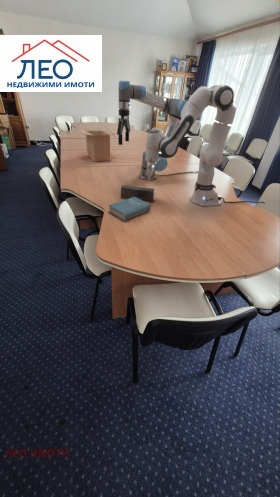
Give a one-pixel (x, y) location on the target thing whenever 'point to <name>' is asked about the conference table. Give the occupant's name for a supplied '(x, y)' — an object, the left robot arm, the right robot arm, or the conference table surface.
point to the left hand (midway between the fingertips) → (123, 143)
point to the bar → (137, 193)
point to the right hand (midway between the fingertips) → (149, 178)
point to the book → (129, 208)
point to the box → (98, 144)
